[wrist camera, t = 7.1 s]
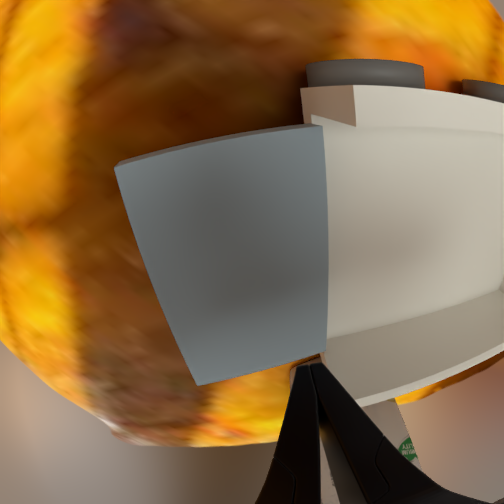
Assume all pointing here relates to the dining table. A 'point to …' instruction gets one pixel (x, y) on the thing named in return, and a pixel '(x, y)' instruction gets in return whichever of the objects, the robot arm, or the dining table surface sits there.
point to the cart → (409, 224)
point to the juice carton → (390, 426)
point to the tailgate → (236, 246)
